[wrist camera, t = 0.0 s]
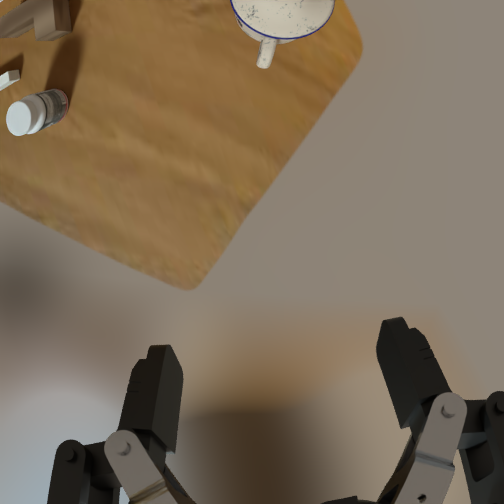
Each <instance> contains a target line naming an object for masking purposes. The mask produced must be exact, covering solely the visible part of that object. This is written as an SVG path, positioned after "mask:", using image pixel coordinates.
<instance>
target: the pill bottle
mask: <svg viewBox="0 0 504 504" xmlns="http://www.w3.org/2000/svg"><path fill="white" fill-rule="evenodd" d="M67 110H68V99H67V96H66V95H65V93H64V92H63V91H61V90H59V89H50V90H47V91H43V92H39V93H35V94H31V95H28V96H25V97H24V98H22V99H21V100H19V101H17V102H15V103H13V104H12V105H11V106H10V108H9V109H8V112H7V117H6V122H7V126H8V129H9V130H10V132H11V133H12V134H14V135H16V136H21V135H24V134H33V133H35V132H38V131H40V130H42V129H44V128H46V127H48V126H51V125H53V124H55V123H58V122H59V121H61V120H62V119H63V118H64V117H65V115H66V113H67Z"/></svg>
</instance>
